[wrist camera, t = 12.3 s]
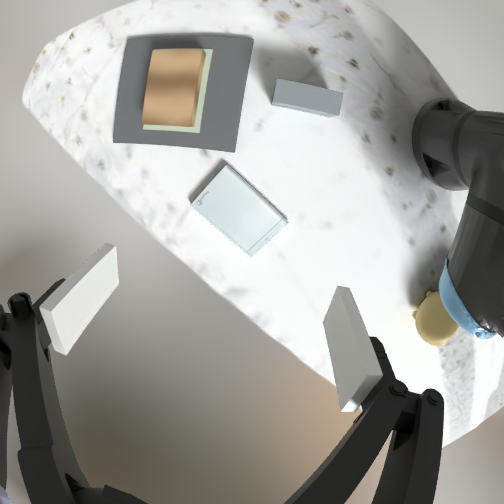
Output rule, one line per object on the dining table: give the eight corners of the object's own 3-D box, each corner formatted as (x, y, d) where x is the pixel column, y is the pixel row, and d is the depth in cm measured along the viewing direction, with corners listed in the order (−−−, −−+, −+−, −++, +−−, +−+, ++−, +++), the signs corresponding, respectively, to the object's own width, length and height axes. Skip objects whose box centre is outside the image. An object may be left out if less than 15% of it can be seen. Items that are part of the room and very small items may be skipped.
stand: (331, 97, 33) (343, 93, 28) (328, 117, 34) (339, 115, 29) (275, 85, 33) (276, 78, 27) (271, 105, 34) (272, 101, 29)
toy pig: (460, 288, 45) (485, 319, 36) (422, 328, 50) (441, 362, 40) (440, 265, 43) (469, 296, 34) (399, 310, 48) (419, 347, 38)
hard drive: (188, 205, 40) (250, 259, 43) (225, 164, 37) (288, 223, 40) (191, 202, 42) (250, 254, 45) (227, 163, 39) (288, 219, 42)
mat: (253, 40, 30) (253, 38, 29) (234, 152, 37) (234, 152, 36) (129, 40, 29) (126, 39, 29) (115, 142, 37) (112, 142, 36)
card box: (194, 126, 35) (189, 127, 33) (148, 124, 35) (141, 124, 33) (206, 53, 30) (202, 49, 28) (159, 53, 30) (152, 50, 28)
